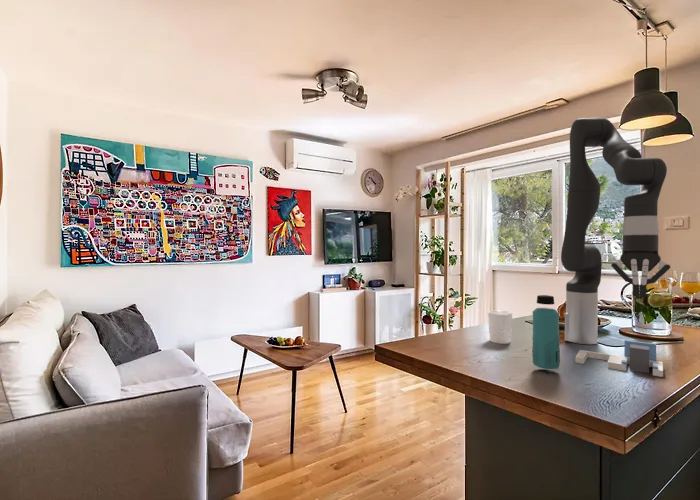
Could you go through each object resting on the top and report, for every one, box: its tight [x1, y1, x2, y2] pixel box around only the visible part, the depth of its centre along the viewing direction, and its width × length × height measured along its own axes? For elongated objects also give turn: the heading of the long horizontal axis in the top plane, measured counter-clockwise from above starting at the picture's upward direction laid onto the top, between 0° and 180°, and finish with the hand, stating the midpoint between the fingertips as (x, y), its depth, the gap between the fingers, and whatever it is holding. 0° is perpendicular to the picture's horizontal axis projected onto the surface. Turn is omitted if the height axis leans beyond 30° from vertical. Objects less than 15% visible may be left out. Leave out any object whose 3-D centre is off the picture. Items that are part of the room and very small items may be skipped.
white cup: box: [487, 310, 513, 345], centre depth 129 cm, size 8×8×10 cm
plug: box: [629, 344, 650, 374], centre depth 100 cm, size 4×4×6 cm
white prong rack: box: [574, 339, 664, 378], centre depth 103 cm, size 19×10×6 cm, turn 51°
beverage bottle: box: [531, 294, 561, 370], centre depth 98 cm, size 6×7×20 cm
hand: (639, 298), depth 99 cm, fingers closed
